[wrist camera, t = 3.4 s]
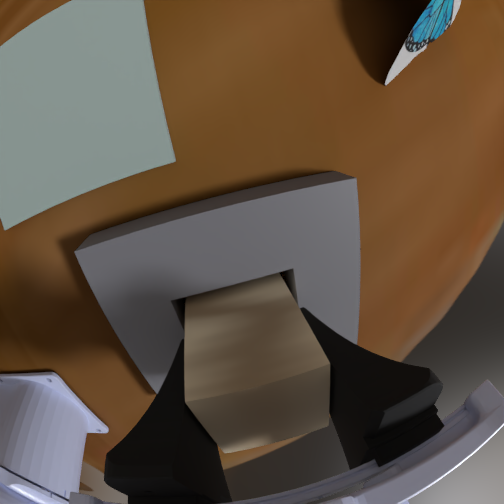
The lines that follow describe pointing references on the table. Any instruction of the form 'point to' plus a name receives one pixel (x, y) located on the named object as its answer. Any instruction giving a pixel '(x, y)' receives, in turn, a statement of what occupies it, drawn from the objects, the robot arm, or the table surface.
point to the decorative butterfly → (425, 32)
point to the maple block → (253, 365)
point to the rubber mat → (77, 106)
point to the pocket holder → (227, 260)
